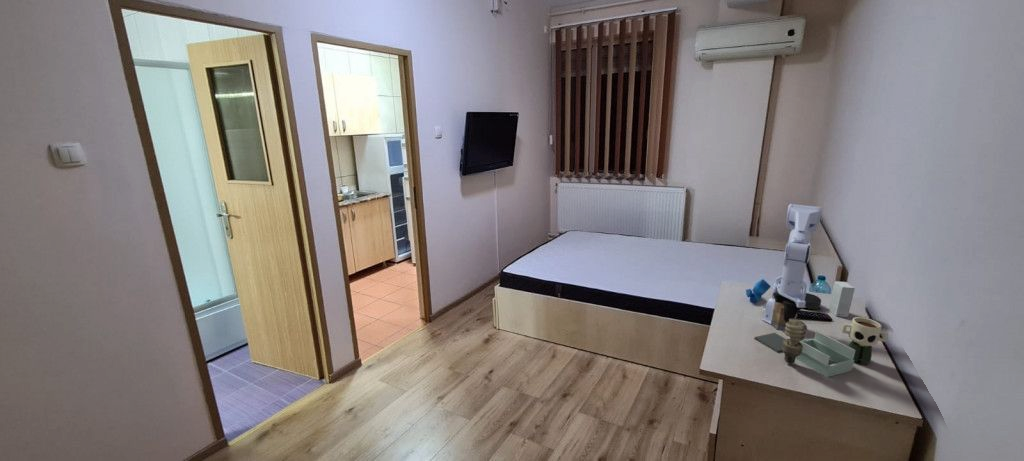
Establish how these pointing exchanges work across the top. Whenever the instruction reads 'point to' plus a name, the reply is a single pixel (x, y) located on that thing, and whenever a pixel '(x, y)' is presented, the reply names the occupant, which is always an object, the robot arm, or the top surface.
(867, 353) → the character mug
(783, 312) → the walnut box
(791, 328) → the light bulb
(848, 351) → the pale green open tray
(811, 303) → the smart speaker
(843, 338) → the top surface
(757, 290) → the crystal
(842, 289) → the skincare box
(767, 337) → the mat
